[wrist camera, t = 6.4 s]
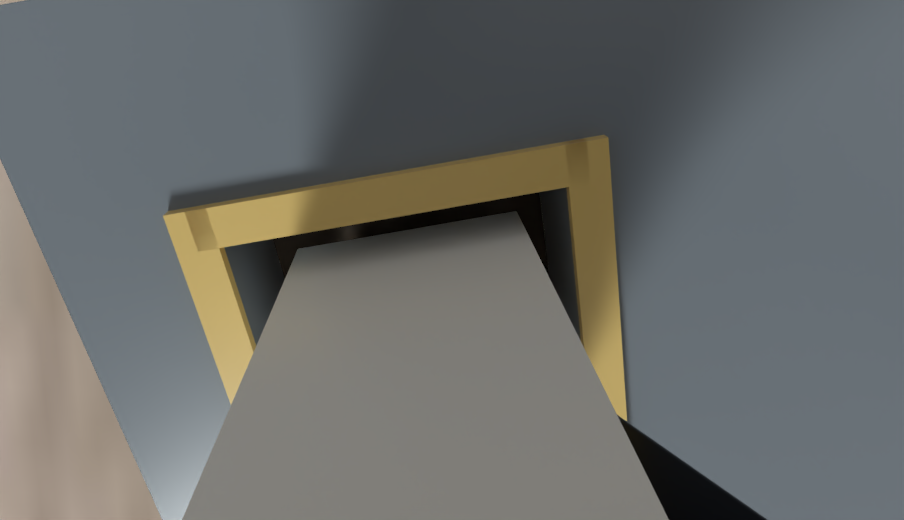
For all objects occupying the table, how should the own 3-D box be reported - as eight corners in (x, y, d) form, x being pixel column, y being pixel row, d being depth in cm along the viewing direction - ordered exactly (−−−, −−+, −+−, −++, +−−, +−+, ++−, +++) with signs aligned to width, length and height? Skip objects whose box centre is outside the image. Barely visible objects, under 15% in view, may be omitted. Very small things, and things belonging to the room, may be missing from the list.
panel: (1416, -232, 10) (1748, -305, 8) (1194, 396, 15) (1354, 478, 12) (42, 10, 10) (-76, 16, 8) (254, 559, 15) (224, 673, 12)
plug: (516, 211, 10) (859, 909, 2) (540, 393, 12) (809, 1215, 4) (297, 248, 10) (-54, 1066, 2) (347, 427, 12) (223, 1313, 4)
